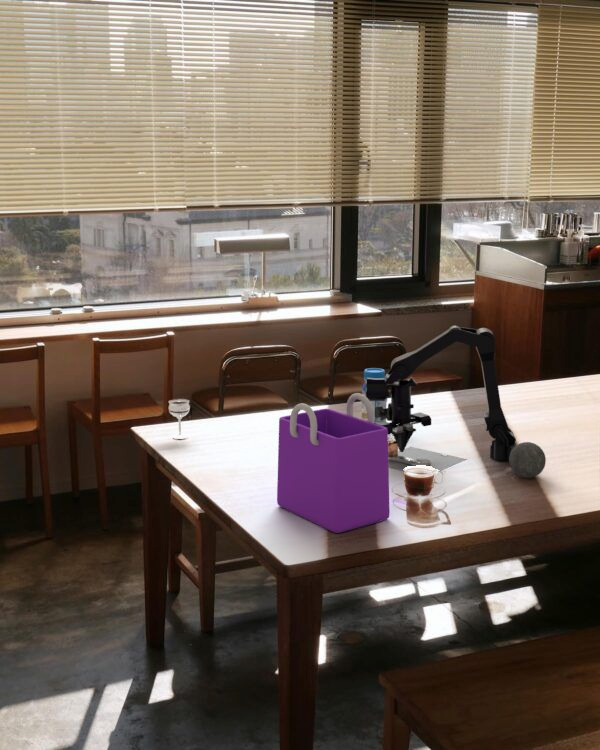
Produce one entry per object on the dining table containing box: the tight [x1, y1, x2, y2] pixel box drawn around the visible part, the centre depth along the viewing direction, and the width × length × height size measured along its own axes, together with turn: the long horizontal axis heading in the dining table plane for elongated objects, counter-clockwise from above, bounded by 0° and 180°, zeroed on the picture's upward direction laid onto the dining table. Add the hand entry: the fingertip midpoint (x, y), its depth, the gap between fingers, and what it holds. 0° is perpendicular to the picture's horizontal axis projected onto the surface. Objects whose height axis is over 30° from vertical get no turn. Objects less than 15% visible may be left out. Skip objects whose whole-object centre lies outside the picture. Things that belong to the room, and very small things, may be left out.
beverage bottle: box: [361, 367, 388, 422], centre depth 333 cm, size 8×8×20 cm
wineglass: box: [168, 398, 191, 436], centre depth 326 cm, size 7×7×12 cm
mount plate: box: [388, 446, 467, 472], centre depth 299 cm, size 20×21×1 cm
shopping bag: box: [276, 392, 390, 534], centre depth 257 cm, size 28×22×30 cm
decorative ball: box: [508, 441, 547, 479], centre depth 286 cm, size 10×10×10 cm
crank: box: [388, 439, 431, 466], centre depth 296 cm, size 15×6×5 cm, turn 52°
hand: (401, 451), depth 302 cm, fingers closed
